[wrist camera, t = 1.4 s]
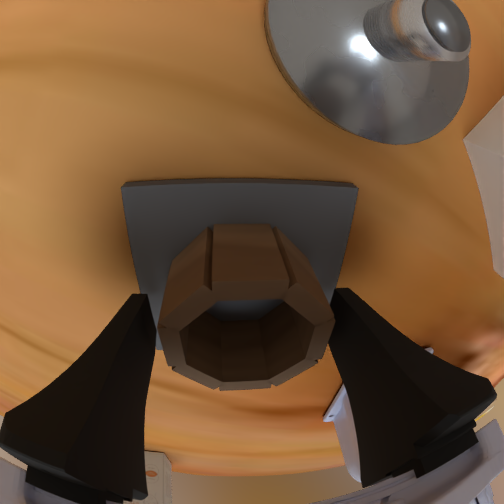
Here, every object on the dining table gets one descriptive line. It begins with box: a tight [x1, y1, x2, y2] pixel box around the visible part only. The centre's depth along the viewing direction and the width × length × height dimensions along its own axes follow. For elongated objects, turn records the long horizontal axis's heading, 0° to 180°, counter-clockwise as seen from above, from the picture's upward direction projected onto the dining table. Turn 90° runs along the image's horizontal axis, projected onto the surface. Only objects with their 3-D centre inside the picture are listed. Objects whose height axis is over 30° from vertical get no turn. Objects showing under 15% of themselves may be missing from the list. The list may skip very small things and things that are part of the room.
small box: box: [123, 451, 172, 504], centre depth 21 cm, size 8×6×13 cm
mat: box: [121, 178, 359, 350], centre depth 12 cm, size 9×9×1 cm
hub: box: [264, 0, 471, 145], centre depth 6 cm, size 9×9×4 cm
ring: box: [157, 224, 335, 391], centre depth 11 cm, size 6×6×4 cm
